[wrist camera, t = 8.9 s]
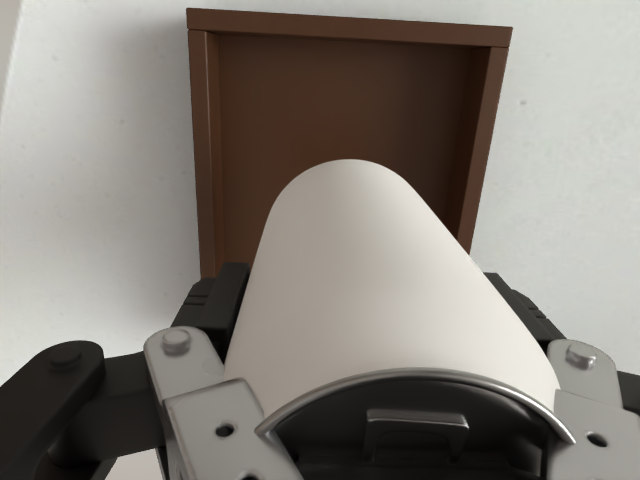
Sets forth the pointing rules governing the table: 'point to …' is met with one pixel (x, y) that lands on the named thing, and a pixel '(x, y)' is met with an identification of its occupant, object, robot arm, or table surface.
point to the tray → (335, 113)
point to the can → (384, 332)
